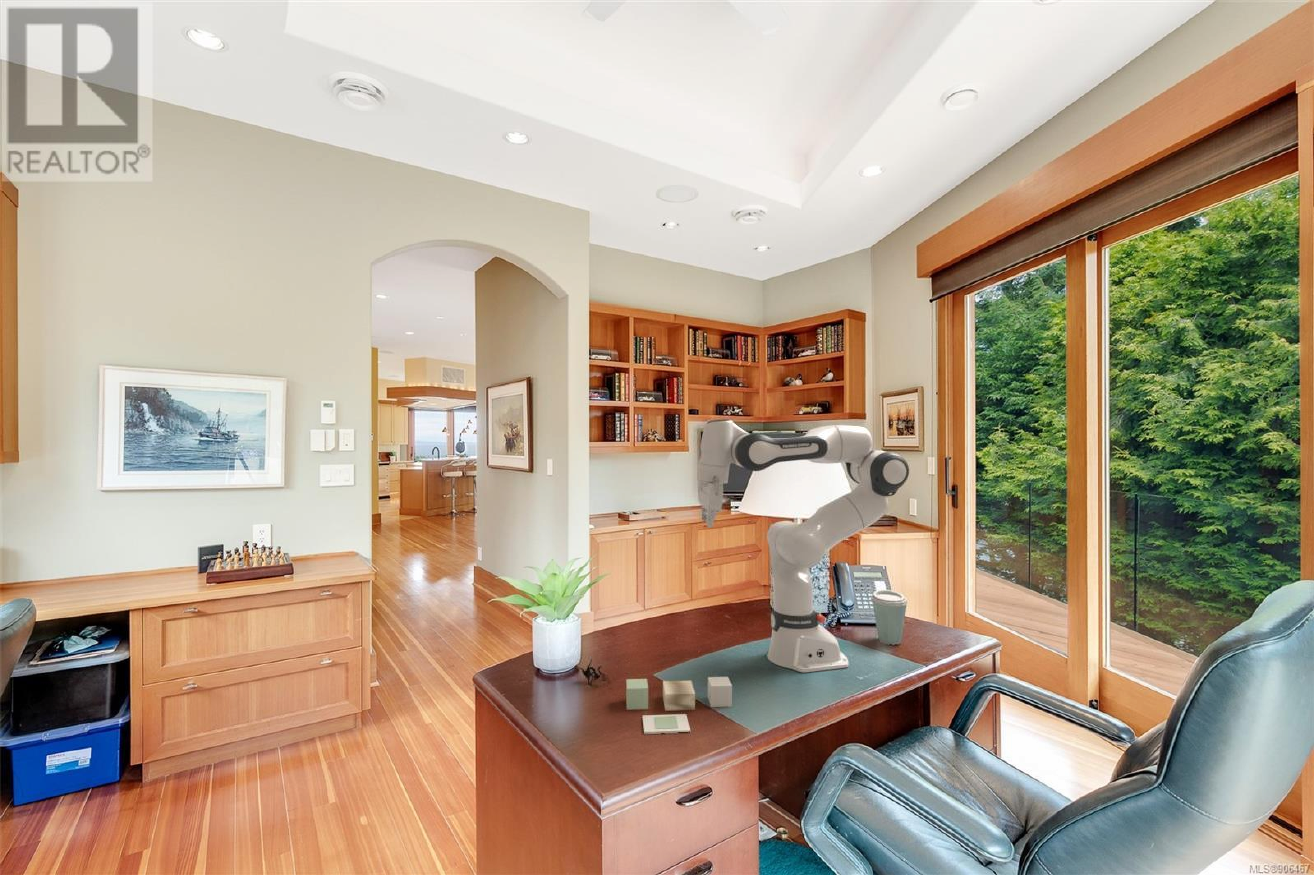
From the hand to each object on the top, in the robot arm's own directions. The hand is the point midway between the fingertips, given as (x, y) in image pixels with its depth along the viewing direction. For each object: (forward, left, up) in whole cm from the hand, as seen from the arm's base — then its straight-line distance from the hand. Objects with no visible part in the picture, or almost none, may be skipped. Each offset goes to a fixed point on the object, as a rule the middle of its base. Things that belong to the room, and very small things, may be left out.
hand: (706, 523), depth 157 cm
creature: (+30, +11, -40) cm, 51 cm away
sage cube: (+20, +23, -40) cm, 50 cm away
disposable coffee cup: (-61, -13, -40) cm, 73 cm away
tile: (+14, +33, -39) cm, 53 cm away
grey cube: (0, +23, -40) cm, 46 cm away
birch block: (+10, +23, -40) cm, 47 cm away
